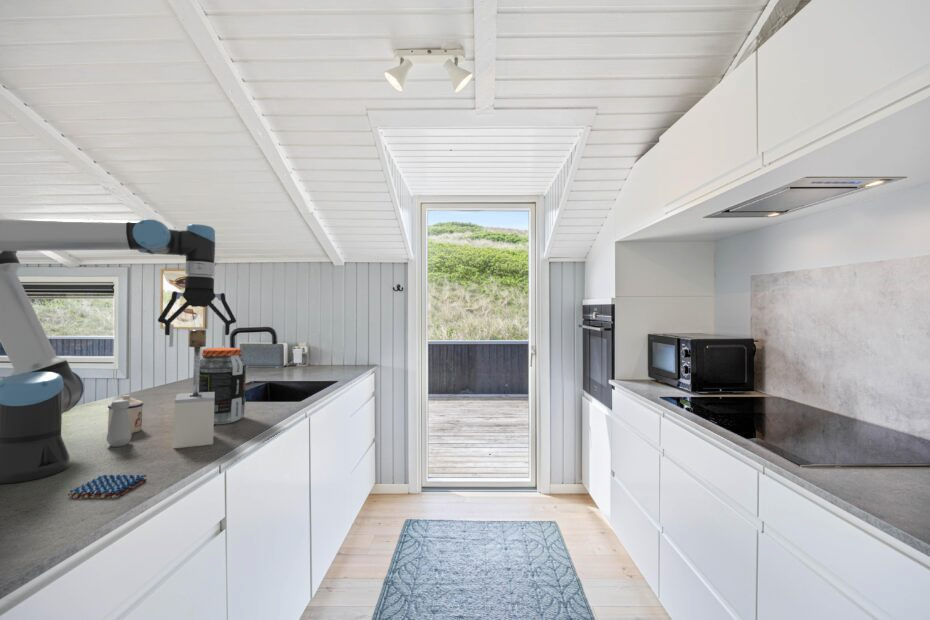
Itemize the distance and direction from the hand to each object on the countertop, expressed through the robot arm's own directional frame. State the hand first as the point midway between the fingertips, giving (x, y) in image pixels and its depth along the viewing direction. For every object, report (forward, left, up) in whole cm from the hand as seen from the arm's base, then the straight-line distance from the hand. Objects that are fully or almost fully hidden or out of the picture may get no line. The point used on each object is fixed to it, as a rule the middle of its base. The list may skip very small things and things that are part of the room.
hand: (197, 346), depth 134 cm
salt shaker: (-19, +5, -29) cm, 35 cm away
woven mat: (-15, -32, -30) cm, 46 cm away
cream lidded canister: (-20, +22, -29) cm, 42 cm away
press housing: (0, 0, -29) cm, 29 cm away
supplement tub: (+7, +25, -29) cm, 39 cm away
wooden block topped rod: (0, 0, -19) cm, 19 cm away
